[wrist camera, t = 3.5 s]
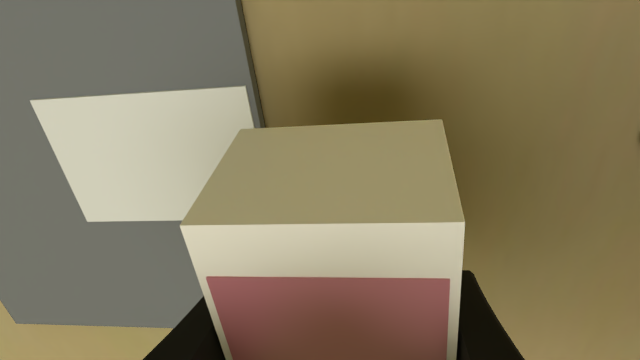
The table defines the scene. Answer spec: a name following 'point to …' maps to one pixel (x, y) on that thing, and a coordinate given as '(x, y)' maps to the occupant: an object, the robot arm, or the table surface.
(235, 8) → the mat
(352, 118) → the table surface
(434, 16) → the table surface
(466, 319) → the robot arm
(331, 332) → the card deck
